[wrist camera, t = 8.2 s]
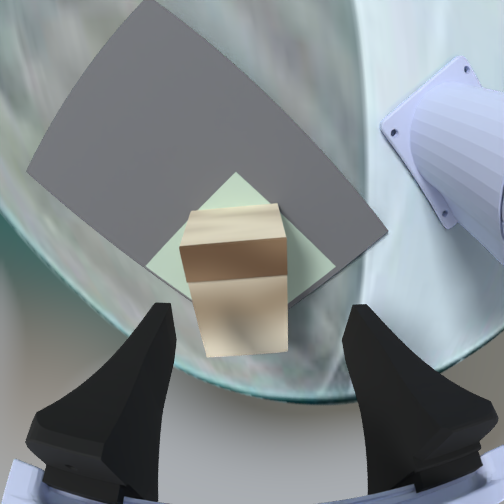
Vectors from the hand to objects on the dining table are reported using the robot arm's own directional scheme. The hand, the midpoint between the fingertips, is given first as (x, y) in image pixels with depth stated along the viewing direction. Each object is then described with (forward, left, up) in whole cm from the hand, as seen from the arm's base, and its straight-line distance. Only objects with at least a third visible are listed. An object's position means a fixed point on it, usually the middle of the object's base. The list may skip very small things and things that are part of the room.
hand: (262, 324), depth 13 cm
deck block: (-1, +2, -8) cm, 8 cm away
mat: (+4, 0, -8) cm, 9 cm away
